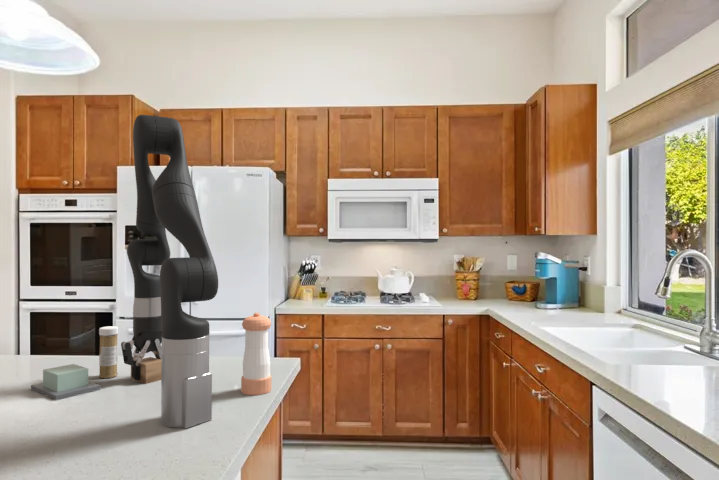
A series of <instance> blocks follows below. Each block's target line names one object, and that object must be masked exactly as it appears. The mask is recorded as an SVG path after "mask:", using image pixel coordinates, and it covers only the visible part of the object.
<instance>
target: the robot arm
mask: <svg viewBox="0 0 719 480" xmlns="http://www.w3.org/2000/svg"><path fill="white" fill-rule="evenodd" d="M132 127H133V129H132V144H133V145H132V146H133V147H132V148H133V158H134V160H133V161H134V175H135V182H136V183H135V185H136V216H135V217H136V218H135V227H136V230H138V232H140V233H142V234H147V235H150V236H153V237H155V238H156V239H154V238H153V239H151V238H150V239H147V238H146V239H141V238H138V239H132V240H131V241H130V242H129V243H128V245H127V248H126V254H127V258H128V262H129V265H130V267H131V272H132V275H133V284H134V285H133V287H134V289H133V290H134V291H133V293H134V294H133V305H132V333H133V336H132V339H131V340H127V341H122V342H120V346H121V352H122V357H123V358H122V359H123V363H124V364H126V365H128V366H130V367H131V366H132V378H134V380H140V374H141V366H139V365H140V363H141V361H142V359H143V358H145V356H146V354H148V353H150V352H152V354H154V358H157V359H161V360H162V370H161V380H160V381H161V382H160V383H161V389H160V390H161V391H160V394H161V395H160V396H161V397H160V400H161V402H160V404H161V405H160V407H161V408H160V410H161V412H160V413H161V414H160V415H161V418H160V419H161V420H160V421H161V424H162V426H165V427H170V428H184V429H188V428H191V427H193V426H197V425H199V424H202V423H205V422H208V421H210V420H213V419H212V418H213V417H212V416H213V415H212V414H213V412H212V411H213V409H212V408H213V405H212V404H213V403H212V402H213V401H212V400H213V397H212V395H213V392H212V391H213V374H212V373H211V372H210V322H209V320H207V319H205V318H203V317H202V318H201V317H197V316H194V315H190V314H188V313H186V312H185V311H184V310H183V308H182V303H196V302H206V301H210V300H213V299H215V297H216V296H217V294H218V290H219V275H218V271H217V266H216V263H215V260H214V257H213V254H212V252H211V249H210V246H209V242H208V240H207V237H206V234H205V231H204V227H203V224H202V223H203V222H202V218H201V213H200V209H199V205H198V200H197V196H196V191H195V188H194V185H193V181H192V177H191V174H190V170H189V164H188V160H187V152H186V146H185V138H184V133H183V129H182V125H181V123H180V122H179V120H177V119H175V118H173V117H167V116H166V117H165V116H156V115H149V114H148V115H147V114H139V115H138V116H136V117H135V120H134V123H133V126H132ZM151 154H152V155H165V156H168V157H169V158H170V159H169V161H168V163H167V165H166V166H165V168H164V169H163V170H162V171H161V173H160V174H159V176H158V177H157V178H155V176H154V175H153V172H152V170H151V168H150V164H149V155H151ZM166 230H167V231H168V232H169V233H170V234H171V235H172V236H173V237H174V238H175V239H176V240H178V242H179V243H180V244H181V245H182V246H183V247H184V249H185V250H186V252H187V254H188V256H189V257H171V249H170V245H169V241H168V237H167V231H166ZM143 266H160V270H159V274H155V273H149V272H146V271H145V270H144V269H143ZM133 346H134V347H135V348H133ZM132 349H134V351H133V352H132ZM134 380H133V381H134Z"/></svg>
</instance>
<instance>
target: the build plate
mask: <svg viewBox="0 0 719 480" xmlns="http://www.w3.org/2000/svg"><path fill="white" fill-rule="evenodd" d="M30 389H31V390H32V391H34V392H37V393H39V394H41V395H43V396H45V397H48V398H50V399H51V400H52V399H53V400H55V401H58V400H63V399H66V398H70V397H74V396H79V395H83V394H86V393H91V392H95V391H99V390H101V384H98V383H95V382H91V381H89V368H87V367H84V366H82V365H78V364H75V363H70V364H67V365H61V366H56V367H50V368H45V369H42V382H40V383H36V384H31V385H30Z"/></svg>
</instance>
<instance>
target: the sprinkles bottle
mask: <svg viewBox="0 0 719 480" xmlns="http://www.w3.org/2000/svg"><path fill="white" fill-rule="evenodd" d="M98 334H99V356H98V357H99V362H98V363H99V364H98V365H99V375H98V377H99V378H100V379H111V378H112V379H113V378H115V377H117V376H118V375H119V374H118V355H119V354H118V353H119V352H118V349H119V348H118V336H119V335H118V334H119V326H115V325H112V326H111V325H110V326H109V325H107V326H102V327H99V329H98Z"/></svg>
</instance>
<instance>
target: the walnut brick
mask: <svg viewBox="0 0 719 480" xmlns="http://www.w3.org/2000/svg"><path fill="white" fill-rule="evenodd" d="M139 366H141V374H140V380H134V378H132V366H131V365H130V380H131V381H135V382H138V383H141V384H145V385H147V384H151V383H155V382H158V381H161V370H162V360H161V359H157V358H156V357H151V356H148V357H143V358H142V361H141V363H140V365H139Z"/></svg>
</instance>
